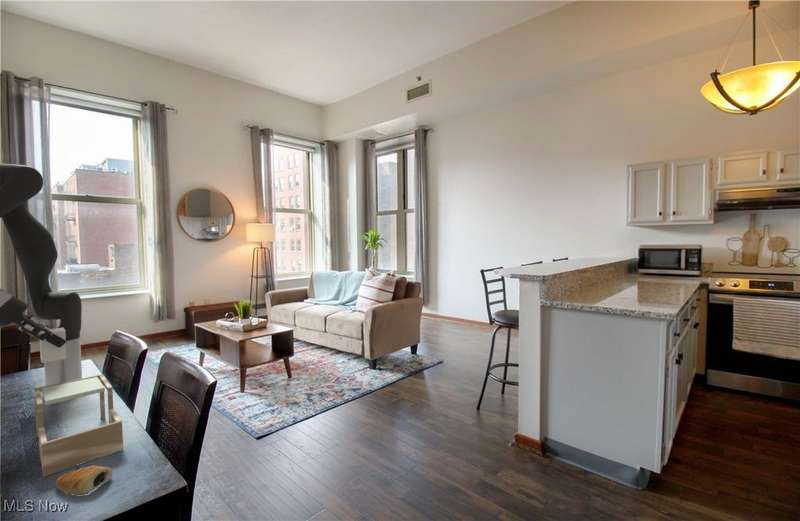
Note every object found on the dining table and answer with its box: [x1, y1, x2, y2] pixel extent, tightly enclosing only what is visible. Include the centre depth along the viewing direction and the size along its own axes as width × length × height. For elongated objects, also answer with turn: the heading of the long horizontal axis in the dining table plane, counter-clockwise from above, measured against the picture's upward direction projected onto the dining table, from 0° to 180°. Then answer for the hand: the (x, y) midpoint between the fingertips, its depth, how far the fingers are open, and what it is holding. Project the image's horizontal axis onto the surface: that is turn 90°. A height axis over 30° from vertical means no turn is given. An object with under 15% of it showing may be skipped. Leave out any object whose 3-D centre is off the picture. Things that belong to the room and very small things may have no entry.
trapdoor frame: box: [33, 374, 124, 478], centre depth 91 cm, size 24×14×12 cm, turn 47°
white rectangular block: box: [39, 327, 67, 363], centre depth 103 cm, size 5×5×8 cm
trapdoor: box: [41, 377, 106, 406], centre depth 95 cm, size 11×11×1 cm
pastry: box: [55, 464, 113, 496], centre depth 75 cm, size 9×7×4 cm
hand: (61, 342), depth 104 cm, fingers closed on white rectangular block, 5 cm apart
